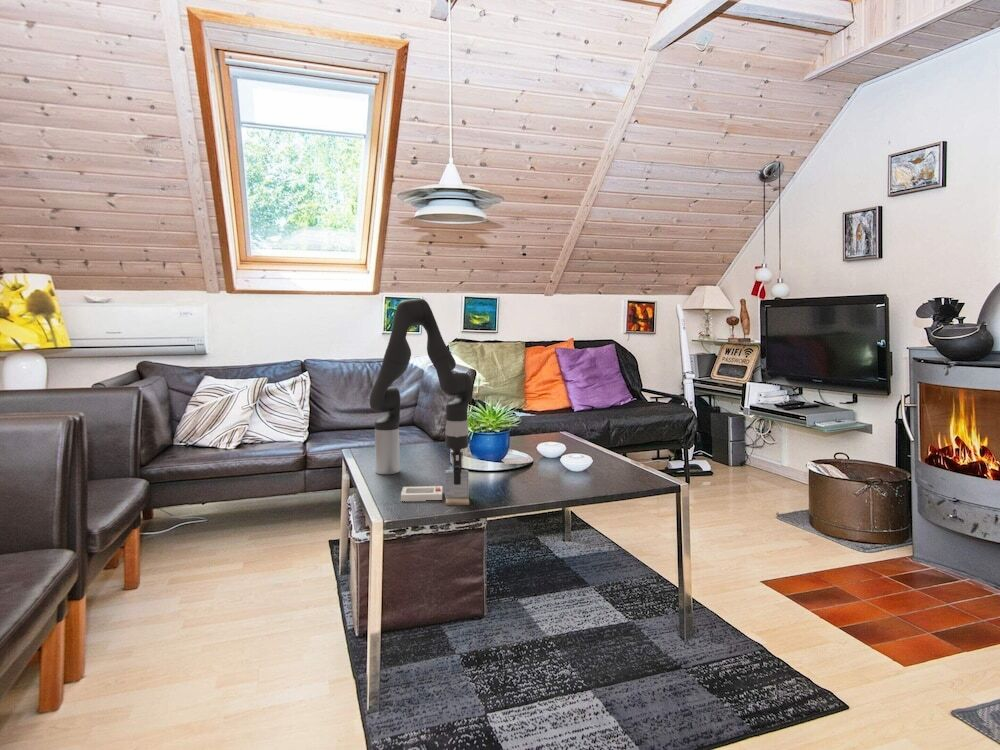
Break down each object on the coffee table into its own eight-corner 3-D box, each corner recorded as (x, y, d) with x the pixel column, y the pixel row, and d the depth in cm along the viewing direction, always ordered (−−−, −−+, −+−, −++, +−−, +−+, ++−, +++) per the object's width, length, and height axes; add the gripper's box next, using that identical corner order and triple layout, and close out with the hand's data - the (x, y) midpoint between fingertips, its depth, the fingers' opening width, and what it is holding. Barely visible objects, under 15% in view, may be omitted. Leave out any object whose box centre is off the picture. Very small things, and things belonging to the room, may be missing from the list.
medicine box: (468, 494, 219) (468, 469, 218) (468, 498, 214) (468, 472, 213) (445, 494, 218) (444, 469, 217) (444, 498, 214) (444, 472, 213)
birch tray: (445, 493, 223) (445, 490, 223) (467, 492, 224) (467, 490, 224) (445, 505, 209) (445, 502, 209) (469, 504, 210) (469, 502, 210)
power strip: (404, 486, 231) (404, 478, 231) (442, 485, 232) (442, 478, 232) (401, 501, 213) (400, 493, 213) (442, 500, 214) (442, 492, 214)
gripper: (445, 429, 221) (445, 475, 223) (445, 437, 207) (445, 487, 209) (467, 429, 222) (467, 475, 223) (469, 437, 208) (469, 486, 209)
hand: (457, 481), depth 216 cm, fingers open, 8 cm apart
